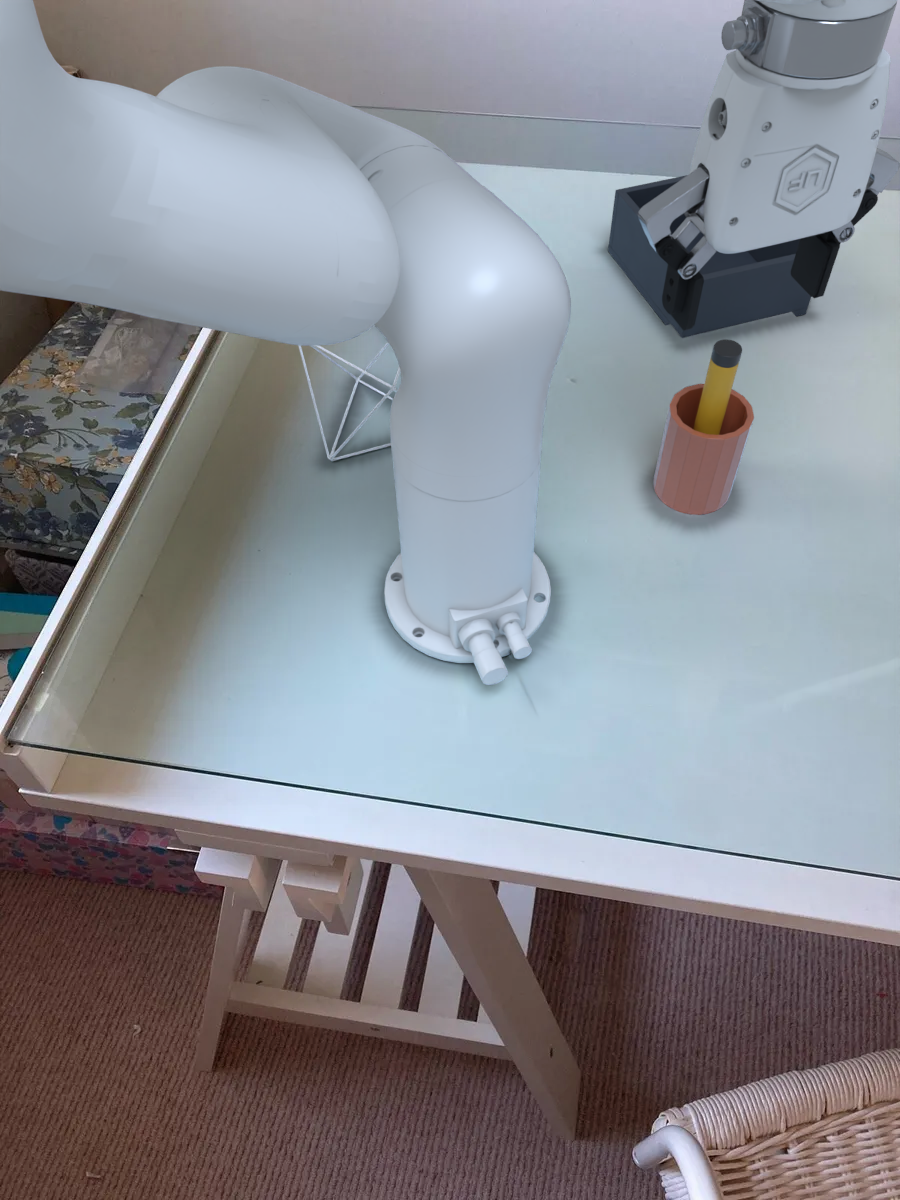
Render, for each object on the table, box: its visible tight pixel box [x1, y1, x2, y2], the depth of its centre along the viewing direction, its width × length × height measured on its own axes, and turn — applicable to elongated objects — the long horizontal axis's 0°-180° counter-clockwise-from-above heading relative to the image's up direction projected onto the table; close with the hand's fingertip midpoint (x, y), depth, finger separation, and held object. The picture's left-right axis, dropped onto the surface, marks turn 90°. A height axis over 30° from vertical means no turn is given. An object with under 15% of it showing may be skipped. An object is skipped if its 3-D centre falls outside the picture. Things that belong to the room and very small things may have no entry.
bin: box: [607, 174, 812, 339], centre depth 95 cm, size 17×14×7 cm
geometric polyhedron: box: [297, 341, 401, 462], centre depth 82 cm, size 12×11×9 cm
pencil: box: [693, 338, 743, 435], centre depth 73 cm, size 2×2×14 cm
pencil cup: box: [653, 383, 755, 516], centre depth 76 cm, size 6×6×9 cm
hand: (742, 301), depth 65 cm, fingers open, 9 cm apart
